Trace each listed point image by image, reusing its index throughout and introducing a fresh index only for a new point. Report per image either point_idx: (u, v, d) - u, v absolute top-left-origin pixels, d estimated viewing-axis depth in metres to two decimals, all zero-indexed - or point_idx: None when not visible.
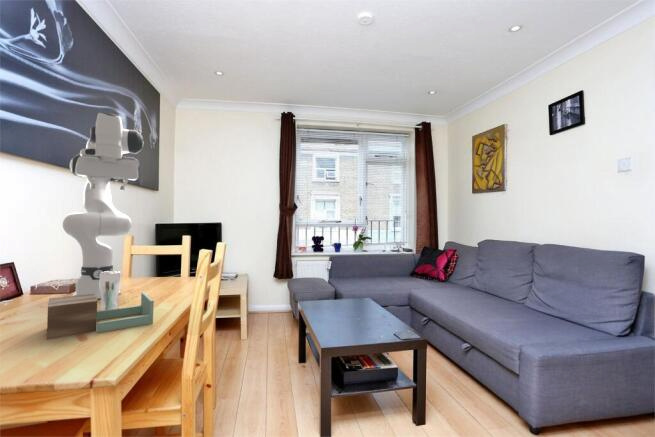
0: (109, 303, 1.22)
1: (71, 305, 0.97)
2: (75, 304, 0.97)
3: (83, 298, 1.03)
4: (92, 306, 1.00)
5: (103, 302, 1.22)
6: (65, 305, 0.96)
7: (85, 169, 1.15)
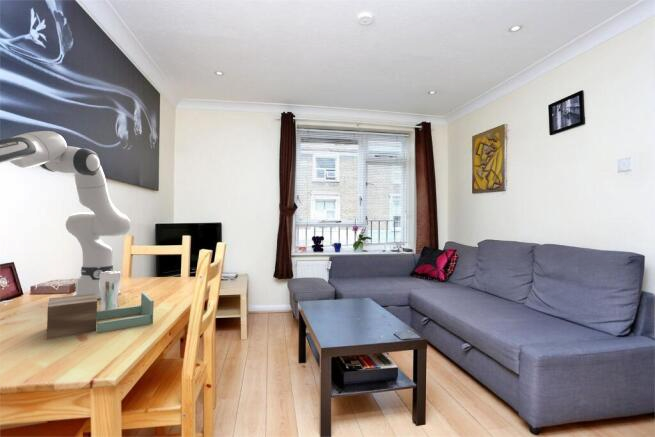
0: (109, 303, 1.22)
1: (71, 305, 0.97)
2: (75, 304, 0.97)
3: (83, 298, 1.03)
4: (92, 307, 1.00)
5: (103, 302, 1.22)
6: (65, 305, 0.96)
7: None
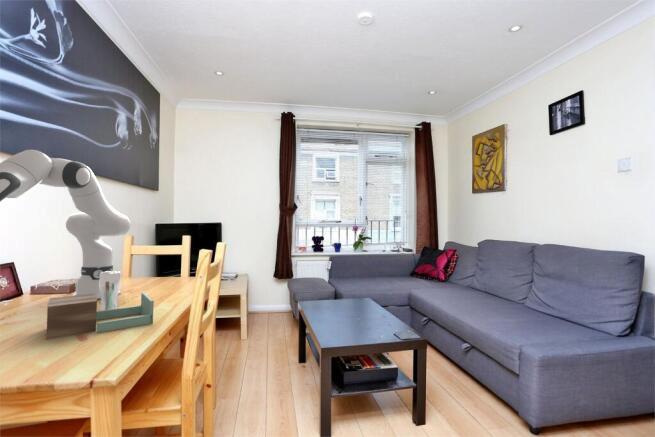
0: (109, 303, 1.22)
1: (71, 305, 0.97)
2: (75, 304, 0.97)
3: (83, 298, 1.03)
4: (92, 307, 1.00)
5: (103, 302, 1.22)
6: (65, 305, 0.96)
7: None
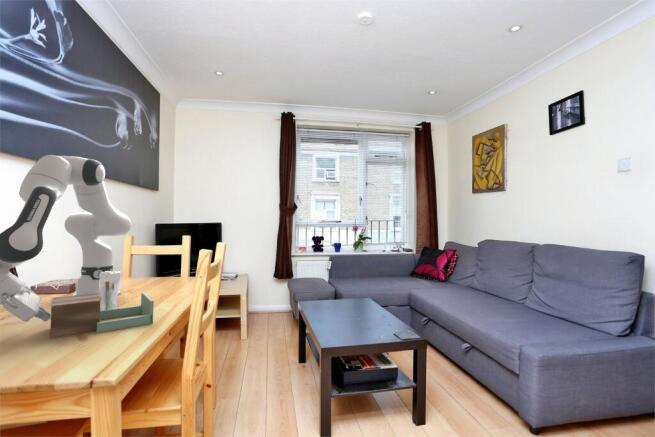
0: (109, 303, 1.22)
1: (74, 304, 0.97)
2: (78, 303, 0.98)
3: (86, 297, 1.04)
4: (95, 306, 1.00)
5: (103, 302, 1.22)
6: (68, 304, 0.96)
7: None
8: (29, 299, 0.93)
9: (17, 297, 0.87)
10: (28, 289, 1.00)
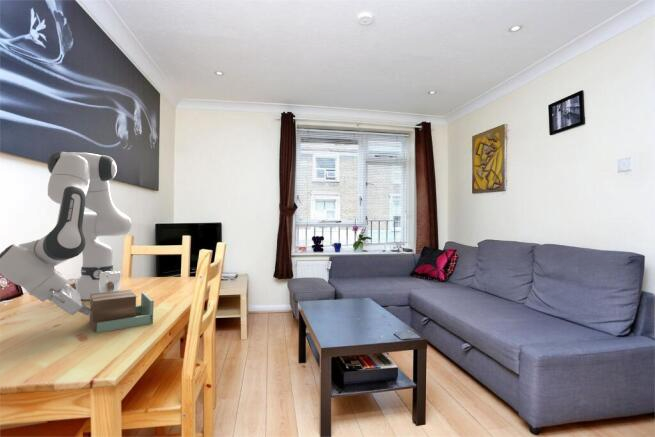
0: None
1: (113, 300, 1.04)
2: (117, 299, 1.04)
3: (122, 293, 1.11)
4: (132, 301, 1.07)
5: None
6: (108, 300, 1.03)
7: None
8: (72, 294, 1.00)
9: (64, 292, 0.94)
10: None
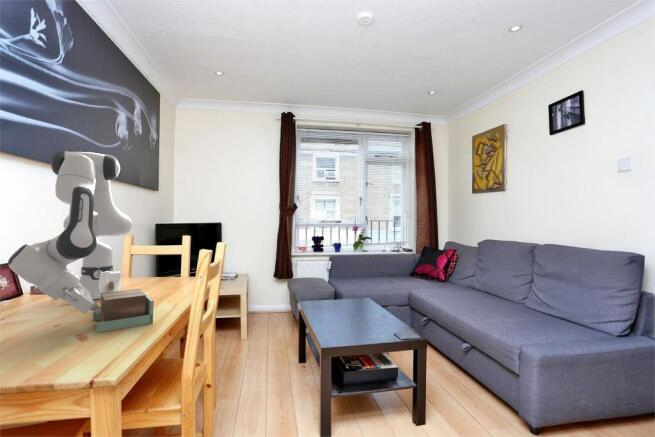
0: None
1: (124, 299, 1.06)
2: (127, 298, 1.06)
3: (132, 292, 1.12)
4: (142, 300, 1.09)
5: None
6: (119, 298, 1.05)
7: None
8: (84, 293, 1.02)
9: (76, 291, 0.96)
10: None
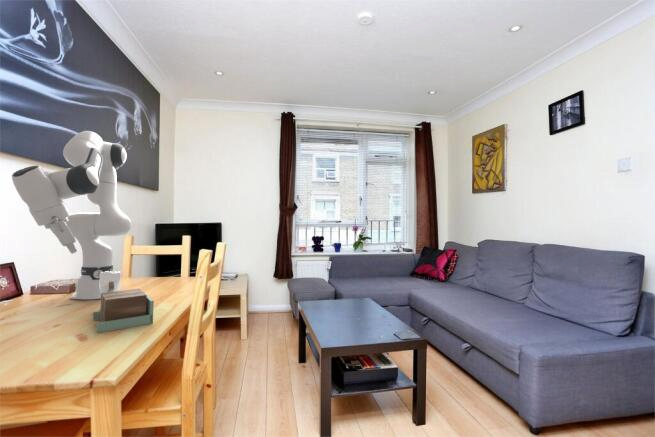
0: None
1: (125, 298, 1.06)
2: (128, 298, 1.07)
3: (132, 292, 1.13)
4: (142, 300, 1.09)
5: None
6: (120, 298, 1.05)
7: (55, 234, 1.08)
8: None
9: (65, 223, 0.98)
10: None
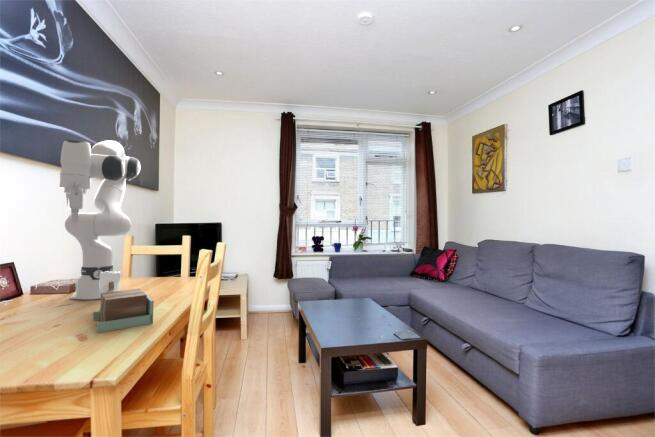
0: None
1: (125, 298, 1.06)
2: (128, 298, 1.07)
3: (132, 292, 1.13)
4: (142, 300, 1.10)
5: None
6: (120, 298, 1.05)
7: (68, 203, 1.17)
8: None
9: (82, 190, 1.08)
10: None
